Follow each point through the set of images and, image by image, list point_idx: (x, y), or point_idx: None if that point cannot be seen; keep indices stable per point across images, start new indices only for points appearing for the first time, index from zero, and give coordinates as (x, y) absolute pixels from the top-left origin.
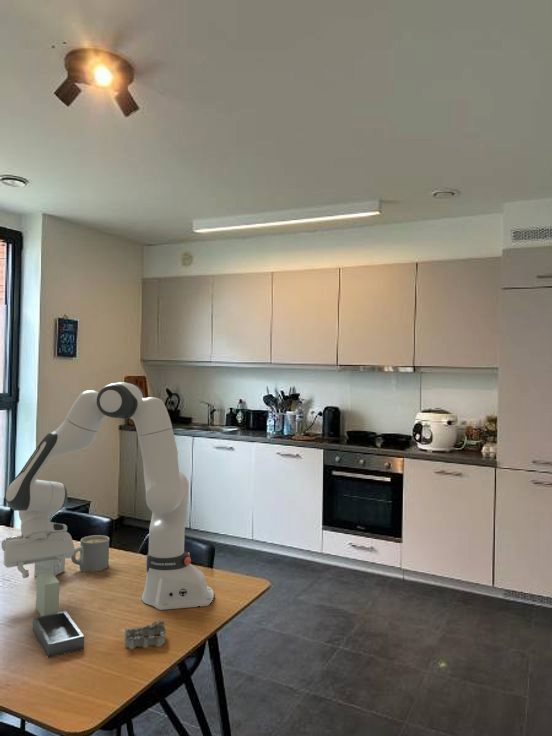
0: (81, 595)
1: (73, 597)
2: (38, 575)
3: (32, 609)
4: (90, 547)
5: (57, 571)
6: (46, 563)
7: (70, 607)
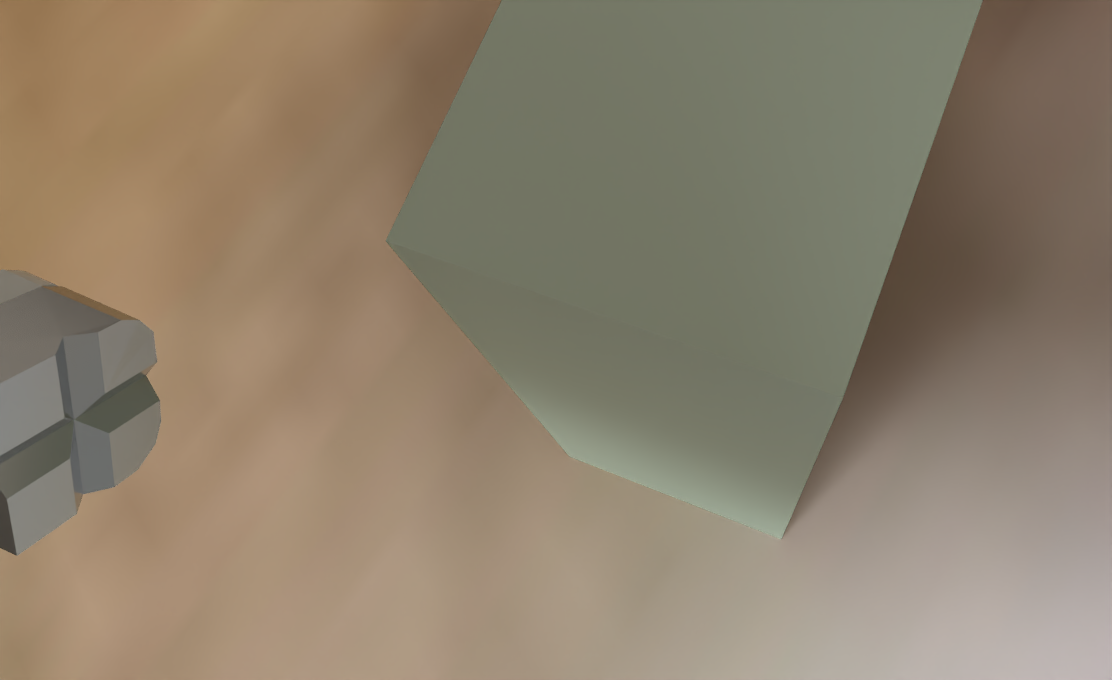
0: None
1: (189, 416)
2: (886, 230)
3: (859, 516)
4: None
5: (139, 360)
6: None
7: None
